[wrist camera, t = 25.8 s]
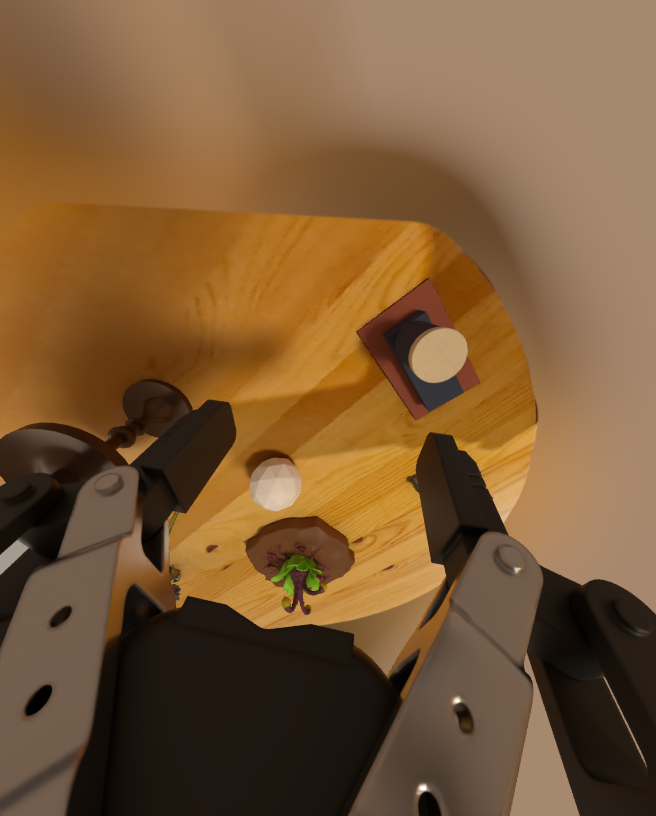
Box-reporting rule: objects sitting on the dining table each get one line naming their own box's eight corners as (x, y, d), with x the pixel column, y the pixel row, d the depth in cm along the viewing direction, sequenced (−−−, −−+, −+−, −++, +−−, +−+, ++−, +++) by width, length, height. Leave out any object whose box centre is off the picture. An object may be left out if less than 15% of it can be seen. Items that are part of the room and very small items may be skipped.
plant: (315, 502, 44) (313, 566, 34) (365, 557, 51) (375, 622, 41) (232, 541, 48) (208, 607, 38) (289, 586, 56) (282, 651, 46)
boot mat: (357, 331, 30) (357, 332, 30) (428, 278, 28) (429, 278, 27) (415, 419, 36) (416, 420, 36) (478, 381, 34) (480, 382, 33)
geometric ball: (286, 447, 41) (305, 456, 34) (293, 491, 42) (313, 508, 35) (241, 459, 38) (251, 472, 31) (250, 507, 39) (262, 530, 32)
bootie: (381, 333, 30) (402, 350, 22) (418, 308, 29) (455, 315, 21) (421, 404, 35) (451, 439, 27) (455, 385, 33) (497, 415, 25)
